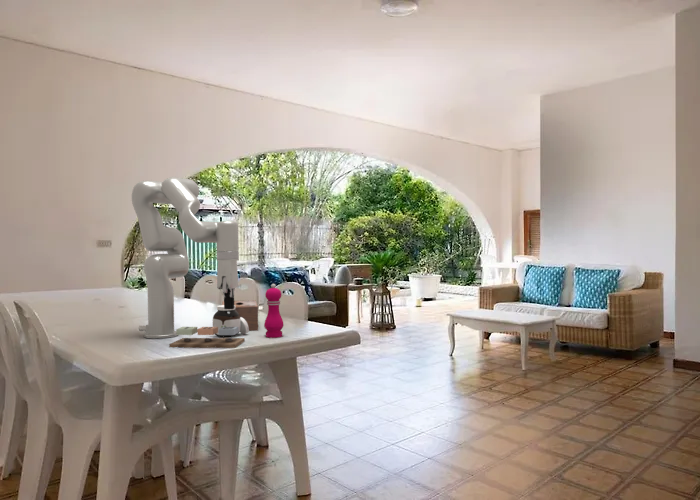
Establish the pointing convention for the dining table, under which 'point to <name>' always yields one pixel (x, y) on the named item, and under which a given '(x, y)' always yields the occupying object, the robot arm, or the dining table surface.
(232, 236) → the robot arm
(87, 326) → the dining table surface
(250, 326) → the tissue box cover
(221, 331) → the tile
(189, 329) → the tile
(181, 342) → the board
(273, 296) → the pepper mill
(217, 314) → the spread jar
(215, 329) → the tile
